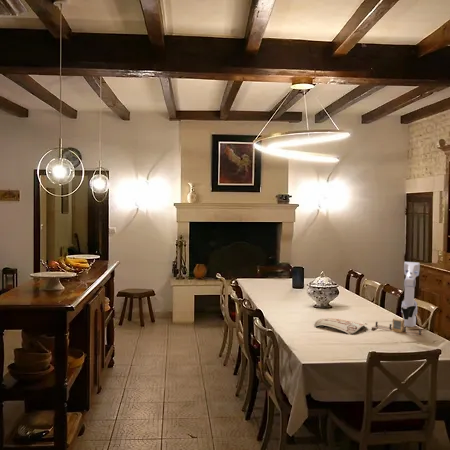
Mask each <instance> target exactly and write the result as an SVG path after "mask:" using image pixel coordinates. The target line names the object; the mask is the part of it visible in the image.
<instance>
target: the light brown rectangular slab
mask: <svg viewBox="0 0 450 450" xmlns="http://www.w3.org/2000/svg"><path fill="white" fill-rule="evenodd" d="M391 327H392V330H395V331H401V332H402V331H404V327H405V326H404V319H403V318H398V317H395V318H392V326H391Z"/></svg>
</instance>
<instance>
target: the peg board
mask: <svg viewBox="0 0 450 450" xmlns="http://www.w3.org/2000/svg"><path fill="white" fill-rule="evenodd" d="M378 323H379V322H378V321H375V325H374V326H372V327H371V331H376V330H384V331H386V332H387V331H388V332H394V333H399V334H405V335H409V336H414V337H421V336H423V335H424V334H425V333H424V332H422V329H421V328H419V329H418V331H413V330H409V329H407V326H404V331H402V332H401V331H395V330H392V326H393V323H389V326H387V325H381V324H378Z"/></svg>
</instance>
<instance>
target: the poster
mask: <svg viewBox="0 0 450 450" xmlns="http://www.w3.org/2000/svg"><path fill="white" fill-rule="evenodd" d="M366 325H368V323H366V322H365V323H359V322H354V321H350V320H346V319H341V318H340V319H339V318H332V317H331V318H329V317H325V318H319V319H317V320H316V321H315V322H314V324H313V327H314V326H315V328H316V327H318V326H325V327H330V328H334V329H337V330H339V331H342V332H345V333H346V334H347V335H349V336H350V335H353V334H355V333H357V332H358V331H359V330H360V329H361V328H362V327H364V326H366Z"/></svg>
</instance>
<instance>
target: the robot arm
mask: <svg viewBox="0 0 450 450" xmlns="http://www.w3.org/2000/svg"><path fill="white" fill-rule="evenodd" d="M420 264H421V263H420V262H415V261H404V263H403V270H404V271H403V272H404V275H405V278H404V281H403V282H404V283H403V286H404V295H403V296H404V297H403V298H404V299H403V300H402V301H401V306H400V307H401V308H400V310H401V311H400V312H401V314H403V316H402V319H404V327H406V328H407V327H410V328H413V327H415V326H416V325H417V324H416V323H417V316H416V315H417V314H418V302H417V301H416V300H415V287H416V278H417V277H419V276H420V269H421V268H420V267H421V265H420Z"/></svg>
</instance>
